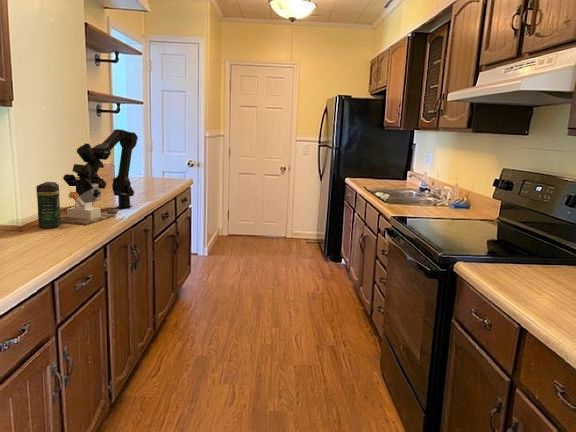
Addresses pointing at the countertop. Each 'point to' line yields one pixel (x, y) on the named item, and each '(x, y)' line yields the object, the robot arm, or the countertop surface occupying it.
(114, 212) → the twin rounded prongs
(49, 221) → the coffee jar
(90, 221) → the mounting board
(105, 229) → the countertop surface
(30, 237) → the countertop surface
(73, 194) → the lever
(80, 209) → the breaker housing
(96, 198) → the circuit breaker
